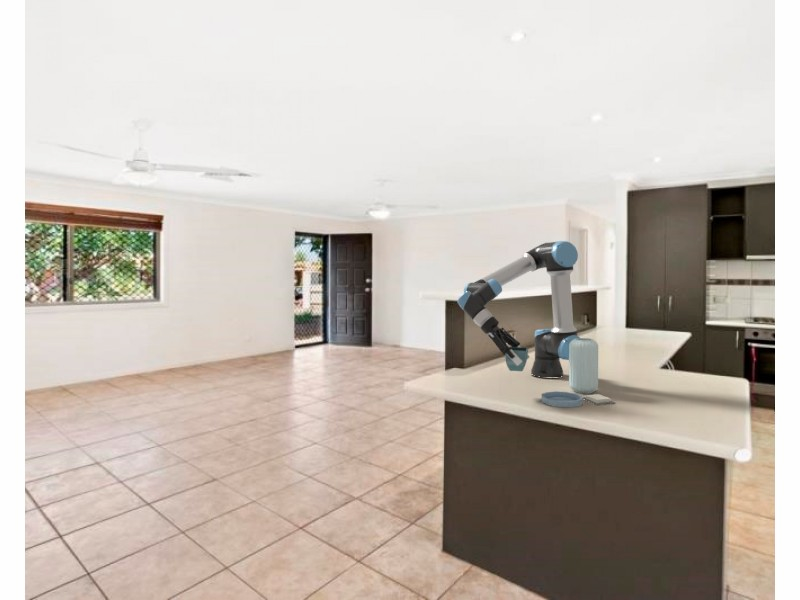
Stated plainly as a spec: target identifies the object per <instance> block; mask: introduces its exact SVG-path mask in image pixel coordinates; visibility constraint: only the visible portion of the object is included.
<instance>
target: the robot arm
mask: <svg viewBox="0 0 800 600" xmlns="http://www.w3.org/2000/svg"><path fill="white" fill-rule="evenodd" d="M578 259H579V253H578V249H577V248H576V246H575V245H574V244H573V243H571V241H565V240H559V241H551V242H550V241H549V242H544V243H541V244H539V245H537V246H535V247H533V248H532V249H530V250H529V251H526V252H525V253H523V255H522V256H521V257H520V258H517V259H516V260H514V261H512V262H510V263H508V264H506V265H505V266H503V267H501V268H499V269H497V270H495V271H494V272H491V273H489V274H488V275H486V276H484V277H482V278H480V279H478V280H476V281H475V282H474V281H473V282H468V283H467V284H465V286H464V287H463V293H462V294H461V295H460V296H459V297H458V299H457V304H458V306H459V307H460V308H461V309H462V311H464V313H466V315H467V316H468V317H470V319H471V320H472V321H473V322H474V324H475V325H477V326H478V327H480V329H481V331H482V332H483V333H485V335H487V336H488V337H489V338H490V339H491V341H492V342H493V344H495V345H496V347H497V348H498V350H499V351H500V352H501V354H503V356H505V354H506V353H507V355H508V356H509V357H510V358H511V360H512V361H513V362H514V363H515V364H516V365H517V366H518V365H519V364H520V363H521V362H522V360H521V359H520V358H519V357H518V356H517V355H516V354H515V353H514V352H513V350H512V349H511V350H510V349H509V347H521V346H520V345H521V343H520V341H518V340H517V339H516V338H515V337H513V336H512V335H511V334H510V333H509V332H508V331H506V329H505V328H504V327H501V328H500V327H499V326H498V325H499V323H500V321H499V320H498V319H497V318H496V317H495V316H493V314H492V313H491V311H489V310H488V309H487V308H486V307H485V306H486V305H487V304H489V303H490V302H491V301H493V300H494V299H495V298H497V297H498V296H499V295H500V294H502V292H503V288H502V287H503V286H505V285H507V284H508V283H510V282H512V281H514V280H516V279H518V278H519V277H521V276H523V275H525V274H527V273H528V272H535V271H537V270H539V269H540V270H541V269H543V268H546V273H547V274H548V275H550V289H551V304H552V307H551V308H552V322H553V327H552V328H544V329H543V328H542V329H536V330H535V331H534V337H533V338H534V361H533V363H532V367H531V370H530V375H531V374H533V375H535V376H540V377H561V376H563V377H564V370H563V366H562V364H561V360H567V361H569V344H570V342H571V341H572V340H574V339H575V338H581V337H580V336H579V335H578V329H577V328H576V327H575V326H574V318H573V316H574V315H573V313H574V312H573V301H572V283H571V282H572V281H571V274H572V272H573V271H574V265H576V262H577V261H578ZM530 357H531V356H530V355H529V354H528V355H527V360H528V359H530ZM560 359H561V360H560ZM561 378H562V377H561Z"/></svg>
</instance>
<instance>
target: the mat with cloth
mask: <svg viewBox="0 0 800 600" xmlns="http://www.w3.org/2000/svg"><path fill="white" fill-rule="evenodd" d="M582 397H583V396H582ZM583 399H585V400H584V401H586V400H587V401H586V402H588V401H589V403H591V402H592V403H591V404H593V403H594V404H593V405H596V404H597V405H596V406H600V404H604V405H612V403H614V404H616V401H613V400H611V398H610V397H608V396H604V395H602V394H600V393H598V394H585V396H584V397H583ZM610 403H611V404H610Z"/></svg>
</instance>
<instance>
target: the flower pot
mask: <svg viewBox="0 0 800 600" xmlns="http://www.w3.org/2000/svg"><path fill="white" fill-rule="evenodd" d="M508 347H509V349H510V350H511V349H512V350H513V352H514V353H515V354H516V355H517V356H518V357H519V358H520V359H521V360H522V362H521V363H520V364H519V365H518V366H517V365H516V364H515V363H514V362H513V361H512V360H511V358H510V357H509V356H508V355H507V353H506V354H505V355H504V358H505V363H506V366H507V368H508V370H509V371H510V372H523V371H524V369H525V366H526V365H527V360H528V359H527V355H529V347H522V346H520V347H511V346H508Z"/></svg>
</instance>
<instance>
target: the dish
mask: <svg viewBox="0 0 800 600" xmlns="http://www.w3.org/2000/svg"><path fill="white" fill-rule="evenodd" d="M542 402H544V403H546V404H545V405H547V404H548V405H547V406H550V405H553V406H552V407H555V406H557V407H556V408H578V407H580V406H583V405H584V400H583V396H582V395H581V394H579V393H574V392H568V391H560V390H559V391H556V390H555V391H554V390H553V391H546V392H543V393H541V403H542ZM544 403H543V404H544ZM582 404H583V405H582Z"/></svg>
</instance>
